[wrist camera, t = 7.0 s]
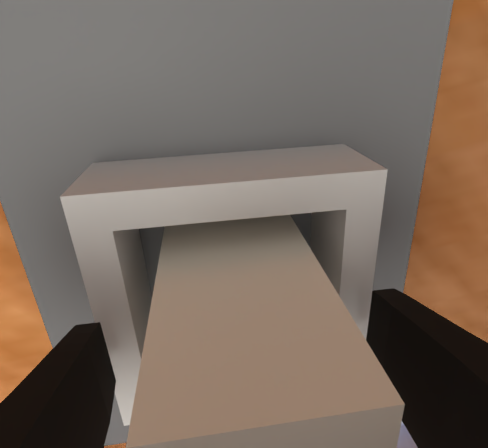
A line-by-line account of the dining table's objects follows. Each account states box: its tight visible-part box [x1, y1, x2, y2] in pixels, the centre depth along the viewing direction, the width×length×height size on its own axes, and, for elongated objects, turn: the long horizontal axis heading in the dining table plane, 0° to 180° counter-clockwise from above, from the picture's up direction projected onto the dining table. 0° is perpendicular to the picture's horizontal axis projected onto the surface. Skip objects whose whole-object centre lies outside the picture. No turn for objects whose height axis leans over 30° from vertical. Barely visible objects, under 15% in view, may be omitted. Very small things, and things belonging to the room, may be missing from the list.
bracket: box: [0, 0, 453, 446], centre depth 12 cm, size 14×18×4 cm
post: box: [126, 215, 405, 448], centre depth 10 cm, size 4×4×8 cm
